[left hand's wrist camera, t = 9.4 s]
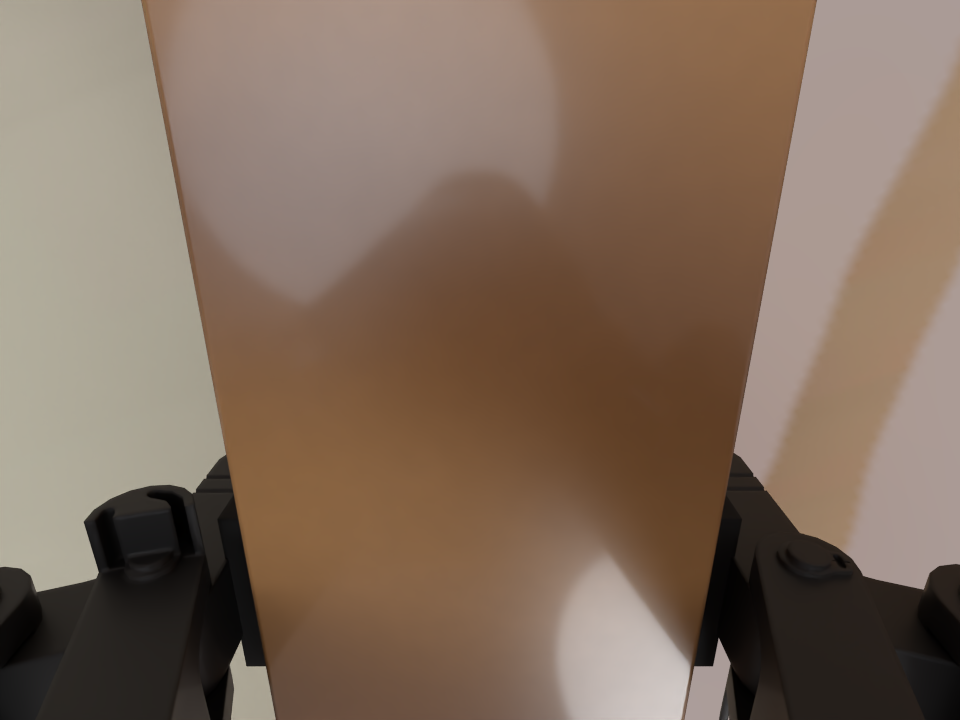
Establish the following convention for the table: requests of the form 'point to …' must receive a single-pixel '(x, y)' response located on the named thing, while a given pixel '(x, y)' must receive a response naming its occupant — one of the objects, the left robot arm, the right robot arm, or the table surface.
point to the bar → (479, 330)
